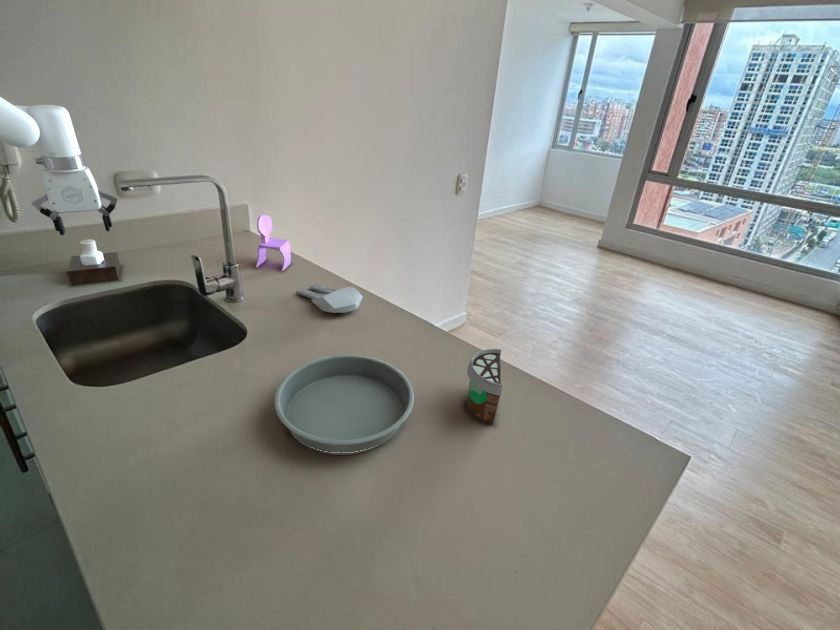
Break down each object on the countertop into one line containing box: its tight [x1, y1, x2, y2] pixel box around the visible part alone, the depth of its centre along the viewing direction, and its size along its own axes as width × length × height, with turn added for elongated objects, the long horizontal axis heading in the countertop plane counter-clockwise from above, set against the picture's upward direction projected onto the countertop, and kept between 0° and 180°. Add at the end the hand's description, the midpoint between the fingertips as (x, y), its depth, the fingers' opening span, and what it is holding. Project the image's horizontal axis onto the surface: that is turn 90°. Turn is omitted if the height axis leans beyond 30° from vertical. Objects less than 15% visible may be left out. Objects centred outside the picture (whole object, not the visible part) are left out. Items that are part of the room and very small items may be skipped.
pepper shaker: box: [79, 239, 104, 266], centre depth 118 cm, size 4×4×10 cm
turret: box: [296, 283, 363, 314], centre depth 117 cm, size 10×20×5 cm, turn 50°
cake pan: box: [273, 354, 415, 456], centre depth 81 cm, size 25×25×4 cm
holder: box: [66, 251, 121, 286], centre depth 119 cm, size 10×10×4 cm
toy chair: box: [255, 214, 292, 272], centre depth 131 cm, size 8×9×15 cm
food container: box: [466, 348, 503, 425], centre depth 85 cm, size 12×6×10 cm, turn 172°
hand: (86, 231), depth 115 cm, fingers open, 9 cm apart
